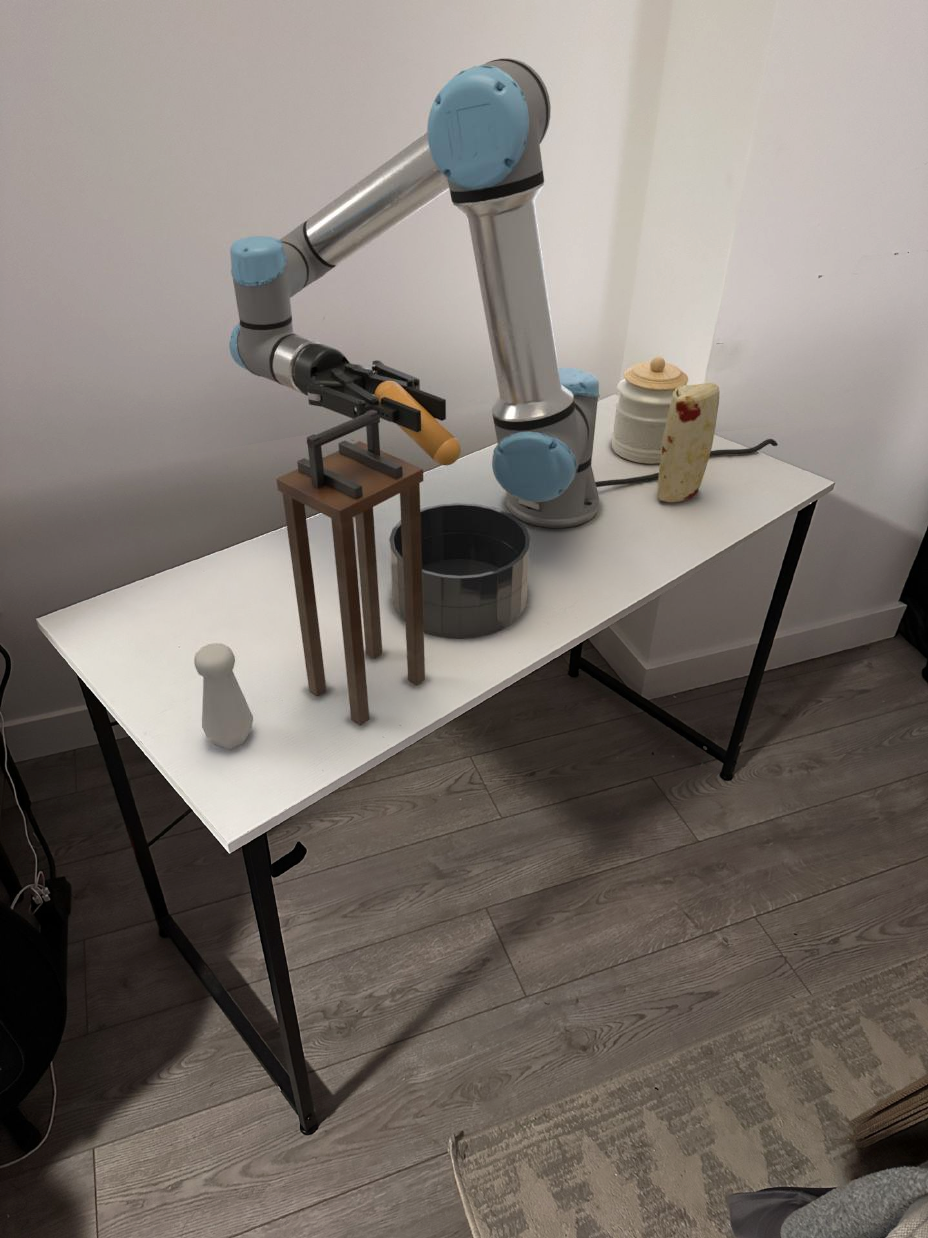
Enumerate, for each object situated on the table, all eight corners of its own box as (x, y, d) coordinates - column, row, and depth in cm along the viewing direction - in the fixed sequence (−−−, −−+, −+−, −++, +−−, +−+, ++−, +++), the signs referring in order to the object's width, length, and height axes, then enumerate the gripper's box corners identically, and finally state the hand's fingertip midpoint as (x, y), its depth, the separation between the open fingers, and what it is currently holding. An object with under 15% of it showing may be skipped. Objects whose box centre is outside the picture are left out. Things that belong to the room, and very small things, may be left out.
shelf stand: (305, 691, 111) (269, 429, 90) (374, 646, 118) (356, 394, 97) (359, 728, 106) (335, 460, 84) (428, 679, 113) (422, 420, 92)
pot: (512, 555, 136) (515, 498, 130) (539, 632, 121) (543, 571, 115) (387, 565, 134) (384, 507, 128) (399, 644, 119) (396, 583, 113)
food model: (671, 512, 147) (690, 398, 134) (643, 496, 151) (659, 384, 139) (712, 496, 151) (734, 384, 139) (684, 480, 155) (703, 371, 143)
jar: (609, 432, 171) (620, 342, 160) (677, 435, 170) (692, 345, 159) (611, 463, 161) (622, 369, 150) (683, 467, 159) (700, 373, 149)
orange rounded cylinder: (365, 402, 118) (372, 379, 115) (386, 393, 121) (394, 370, 118) (440, 475, 115) (449, 454, 112) (461, 465, 117) (470, 443, 114)
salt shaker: (237, 760, 102) (219, 674, 94) (195, 746, 103) (174, 661, 95) (264, 726, 106) (249, 642, 98) (224, 714, 108) (205, 630, 100)
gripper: (358, 377, 133) (474, 422, 121) (268, 412, 123) (385, 464, 111) (355, 327, 129) (475, 369, 117) (261, 359, 119) (382, 408, 106)
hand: (431, 415), depth 114 cm, fingers closed on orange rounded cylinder, 4 cm apart
